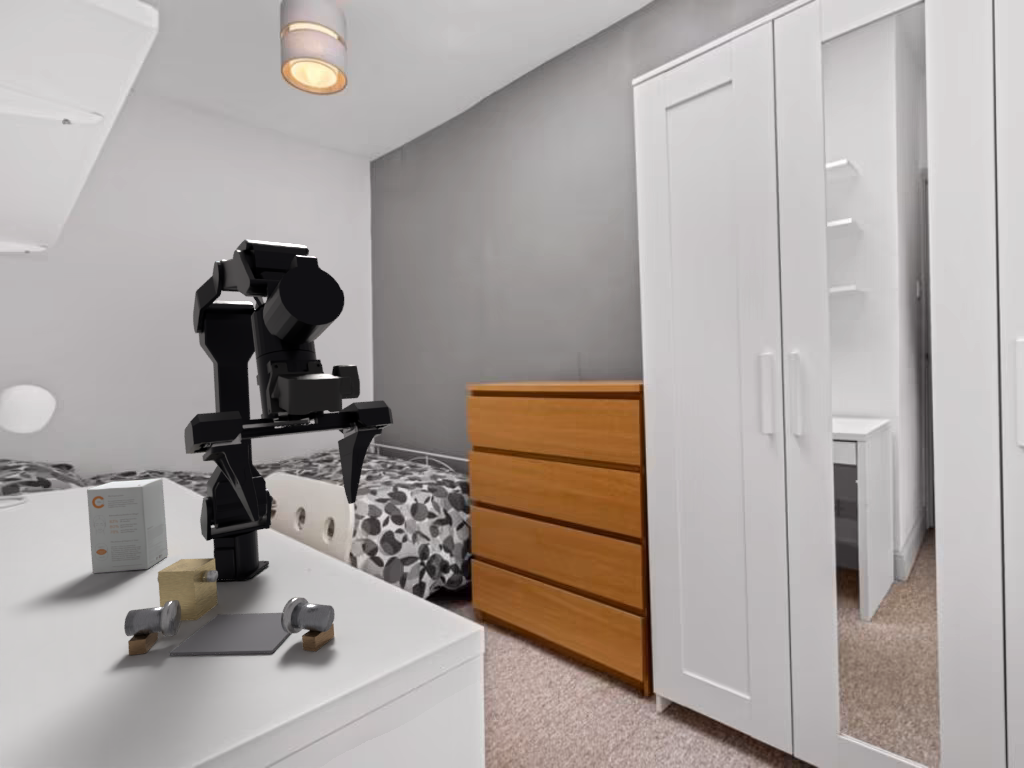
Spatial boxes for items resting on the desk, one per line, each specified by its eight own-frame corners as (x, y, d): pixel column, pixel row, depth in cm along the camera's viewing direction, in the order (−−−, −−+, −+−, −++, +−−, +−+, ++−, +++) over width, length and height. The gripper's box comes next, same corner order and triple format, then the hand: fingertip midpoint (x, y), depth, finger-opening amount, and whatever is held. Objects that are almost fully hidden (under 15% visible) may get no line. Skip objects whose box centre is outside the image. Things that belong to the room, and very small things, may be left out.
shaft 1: (182, 635, 62) (180, 594, 62) (170, 650, 59) (167, 608, 59) (138, 640, 61) (136, 600, 61) (123, 657, 58) (121, 613, 58)
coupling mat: (218, 616, 67) (218, 614, 67) (307, 614, 66) (307, 612, 66) (169, 655, 58) (169, 652, 58) (272, 653, 57) (272, 650, 57)
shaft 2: (282, 648, 58) (280, 605, 58) (304, 632, 62) (302, 591, 62) (317, 652, 57) (315, 609, 57) (338, 636, 61) (336, 595, 60)
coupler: (175, 605, 71) (172, 559, 71) (226, 604, 71) (224, 557, 70) (151, 621, 66) (148, 572, 66) (206, 620, 66) (203, 570, 66)
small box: (168, 556, 91) (164, 477, 91) (147, 570, 85) (142, 485, 84) (116, 560, 90) (111, 480, 90) (90, 574, 84) (85, 489, 83)
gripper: (193, 332, 44) (213, 528, 42) (403, 333, 56) (429, 487, 53) (177, 369, 53) (192, 534, 50) (362, 364, 65) (382, 498, 62)
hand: (306, 511), depth 54 cm, fingers open, 9 cm apart
